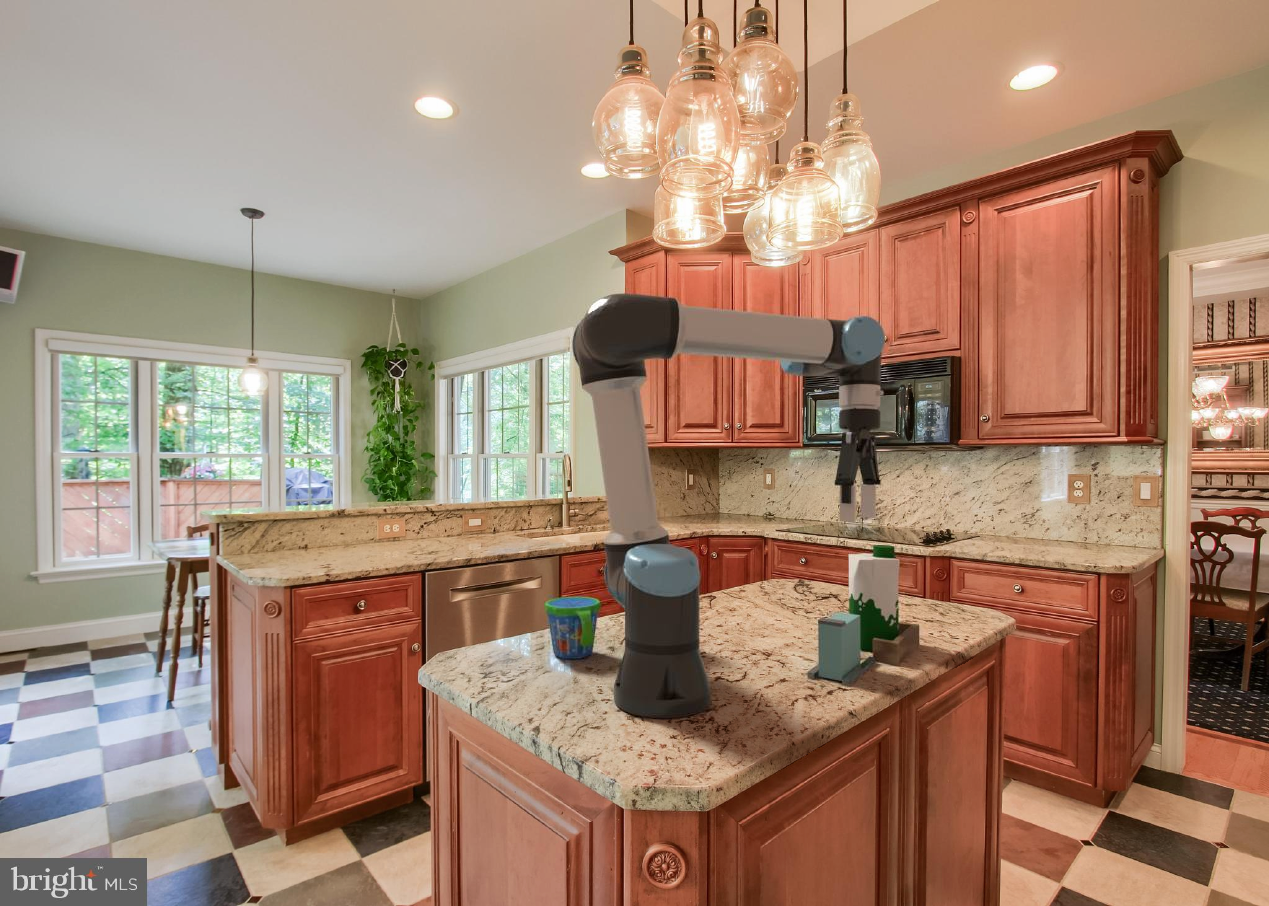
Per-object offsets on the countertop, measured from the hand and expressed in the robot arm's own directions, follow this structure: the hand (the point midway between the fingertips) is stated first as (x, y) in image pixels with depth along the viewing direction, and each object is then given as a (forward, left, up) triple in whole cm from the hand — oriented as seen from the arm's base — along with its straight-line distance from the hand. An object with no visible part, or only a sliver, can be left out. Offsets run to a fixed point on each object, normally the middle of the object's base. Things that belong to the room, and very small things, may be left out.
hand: (858, 519), depth 121 cm
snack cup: (-45, -32, -26) cm, 61 cm away
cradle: (0, +6, -26) cm, 27 cm away
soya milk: (0, +8, -26) cm, 27 cm away
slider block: (0, -12, -26) cm, 29 cm away
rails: (0, -11, -26) cm, 28 cm away
